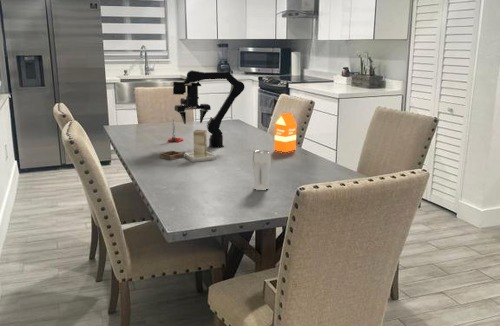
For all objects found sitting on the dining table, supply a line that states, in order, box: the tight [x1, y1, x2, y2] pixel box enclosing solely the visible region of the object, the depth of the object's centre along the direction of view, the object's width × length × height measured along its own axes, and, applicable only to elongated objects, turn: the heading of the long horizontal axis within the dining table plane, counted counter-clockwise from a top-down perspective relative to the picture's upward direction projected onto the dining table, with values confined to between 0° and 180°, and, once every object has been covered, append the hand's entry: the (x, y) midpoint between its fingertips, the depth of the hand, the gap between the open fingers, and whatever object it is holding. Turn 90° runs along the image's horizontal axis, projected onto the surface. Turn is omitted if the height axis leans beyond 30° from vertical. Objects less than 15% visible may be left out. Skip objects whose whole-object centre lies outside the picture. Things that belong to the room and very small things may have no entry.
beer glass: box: [252, 149, 271, 191], centre depth 189 cm, size 7×7×15 cm
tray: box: [184, 150, 217, 163], centre depth 240 cm, size 12×12×2 cm
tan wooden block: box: [192, 129, 208, 158], centre depth 238 cm, size 5×5×13 cm
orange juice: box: [274, 112, 297, 153], centre depth 256 cm, size 8×9×20 cm
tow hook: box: [167, 119, 184, 143], centre depth 281 cm, size 8×13×9 cm
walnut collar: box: [159, 150, 185, 161], centre depth 241 cm, size 8×8×2 cm
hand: (192, 123), depth 262 cm, fingers open, 9 cm apart
